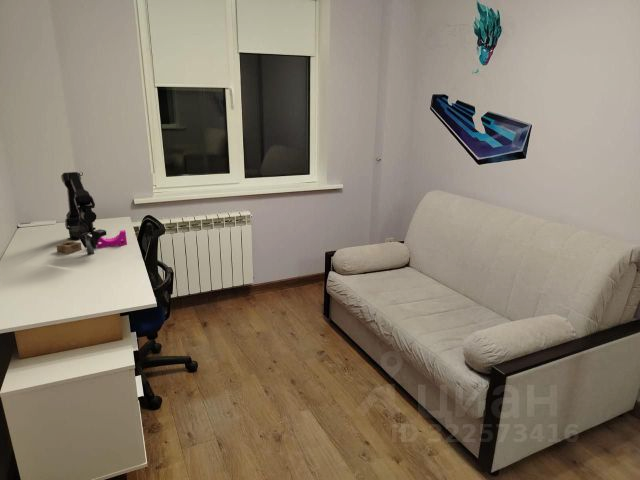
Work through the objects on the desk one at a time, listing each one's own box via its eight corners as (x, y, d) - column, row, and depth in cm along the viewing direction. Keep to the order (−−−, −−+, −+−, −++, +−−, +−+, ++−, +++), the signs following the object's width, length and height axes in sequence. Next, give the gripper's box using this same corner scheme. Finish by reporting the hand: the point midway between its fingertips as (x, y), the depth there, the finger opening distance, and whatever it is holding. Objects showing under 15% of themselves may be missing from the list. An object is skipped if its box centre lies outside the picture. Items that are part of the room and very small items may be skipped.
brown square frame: (57, 252, 231) (56, 245, 230) (70, 248, 239) (68, 241, 238) (69, 254, 229) (68, 246, 228) (81, 249, 236) (80, 242, 235)
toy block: (126, 241, 252) (124, 229, 250) (127, 244, 246) (125, 231, 244) (96, 245, 245) (95, 232, 243) (97, 248, 240) (95, 234, 238)
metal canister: (85, 254, 229) (83, 235, 226) (90, 252, 232) (88, 234, 229) (90, 255, 228) (88, 236, 225) (95, 253, 231) (93, 234, 228)
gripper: (58, 220, 220) (62, 250, 224) (88, 224, 214) (92, 254, 219) (76, 216, 230) (80, 244, 234) (105, 218, 225) (109, 248, 229)
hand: (90, 248), depth 229 cm, fingers open, 5 cm apart
